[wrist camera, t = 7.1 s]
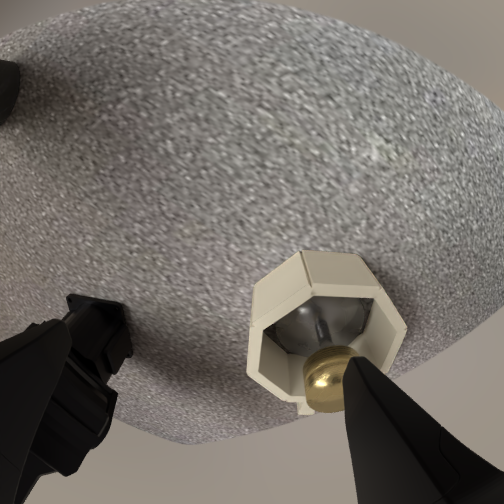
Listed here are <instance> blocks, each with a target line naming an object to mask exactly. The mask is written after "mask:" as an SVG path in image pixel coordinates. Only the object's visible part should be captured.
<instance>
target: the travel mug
mask: <svg viewBox="0 0 504 504" xmlns="http://www.w3.org/2000/svg"><path fill="white" fill-rule="evenodd" d="M19 83H20V73H19V69H18V66H17V65H16V64H15V63H13V62H10V61H5V60H0V125H1V124H2V123H3V122H4V121H5V120H6V119H7V117H8V116H9V114H10V112H11V110H12V108H13V106H14V104H15V101H16V98H17V94H18V90H19Z"/></svg>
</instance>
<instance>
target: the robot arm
mask: <svg viewBox="0 0 504 504" xmlns="http://www.w3.org/2000/svg"><path fill="white" fill-rule="evenodd" d="M66 300H67V304H68V307H69V310H70V311H69V312H68V313H67V314H66V315H65V316H64V317H63V319H62V320H60V319H56V318H55V319H52V320H49V321H47V322H46V321H44V322H43V323H42V324H40V325H39V324H35V323H32V324H31V325H30V326H29V327H28V328H27V329H26V330H25V331H24V332H22V333H20V334H17V335H15V336H13V337H11V338H8V339H6V340H4V341H2V342H0V504H23V503H24V502H25V500H26V498H27V497H28V495H29V494H30V492H31V490H32V489H33V487H34V485H35V484H36V482H37V481H38V479H39V478H40V477H41V476H43V475H47V474H51V473H54V472H59V473H60V474H62V475H63V476H65V477H67V476H69V475H71V474H73V473H75V472H77V470H78V469H79V467H80V465H81V463H82V461H83V460H84V458H85V456H86V454H87V453H88V452H89V450H90V449H94V448H96V447H97V446H98V445H99V444H100V443H101V442H102V441H103V439H104V438H105V437H106V435H107V433H108V431H109V429H110V426H111V422H112V417H113V413H114V409H115V405H116V401H117V397H118V393H117V392H116V391H115V390H114V389H111V388H110V387H109V386H108V385H106V384H107V382H108V381H109V379H110V377H111V375H112V374H113V375H116V374H117V373H118V371H119V369H120V367H121V365H122V364H123V362H124V360H125V358H131V357H132V355H133V351H132V343H131V339H130V335H129V331H128V327H127V325H126V322H125V317H124V312H123V308H122V305H121V304H119V303H117V302H112V301H106V300H100V299H95V298H89V297H84V296H79V295H74V294H69V295H68V296H67V297H66ZM116 307H117V308H118V309H117V308H116ZM342 385H343V397H344V410H345V424H346V431H347V436H348V442H349V448H350V453H351V459H352V466H353V472H354V478H355V485H356V492H357V499H358V504H504V472H503V471H501V470H499V469H497V468H496V467H495V466H493V465H492V464H490V463H489V462H487V461H486V460H485V459H483V458H482V457H480V456H479V455H477V454H476V453H474V452H473V451H472V450H470V449H469V448H468V447H466V446H465V445H464V444H462V443H461V442H460V441H459V440H458V439H456V438H455V437H454V436H453V435H452V434H450V433H449V432H448V431H447V430H446V429H445V428H444V427H441V425H440V424H439V423H438V422H437V421H436V420H435V419H434V418H432V417H431V416H430V415H429V414H428V413H427V412H426V411H425V410H424V409H423V408H421V407H420V406H419V405H418V404H417V403H416V402H415V401H413V399H411V398H410V397H409V396H408V395H407V394H406V393H405V392H404V391H403V390H401V389H400V388H399V387H398V386H397V385H396V384H395V383H394V382H393V381H391V380H390V379H389V378H388V377H387V376H386V375H385V374H384V373H383V372H381V371H380V370H379V369H378V368H377V367H376V366H375V365H374V364H373V363H371V362H370V361H369V360H368V359H367V358H366V357H364V356H353V357H351V358H350V360H349V362H348V364H347V367H346V370H345V372H344V375H343V379H342Z"/></svg>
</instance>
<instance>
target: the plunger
mask: <svg viewBox="0 0 504 504" xmlns="http://www.w3.org/2000/svg"><path fill="white" fill-rule="evenodd" d="M363 322H364V309H363V306H362V304H361V302H360V300H359V298H357V297H333V296H313V297H311V298H310V299H308V300H307V301H305V302H304V303H303V304H301V305H300V306H298V307H297V308H295V309H294V310H292V311H291V312H289V313H288V314H286V315H285V316H283V317H282V318H281V319H279V320H278V321H276V322H275V324H276V334H277V337H278V339H279V341H280V342H281V344H282V345H283V346H284V347H285V348H286V349H287V350H289V351H290V352H292V353H294V354H296V355H299V356H303V357H309V358H308V359H307V360H306V361H305V363H304V365H303V379H304V387H305V395H306V402H307V404H308V406H309V407H310V408H311V409H313V410H315V411H318V412H324V413H332V412H339V411H343V410H344V397H343V385H342V379H343V375H344V372H345V370H346V367H347V364H348V362H349V360H350V358H351V357H353V356H359V354H358V352H357V351H356V350H354V349H353V348H351V347H348V345H349V344H351V343H352V342H353V341H354V340H355V338H356V337H357V336H358V334H359V333H360V331H361V329H362V326H363Z"/></svg>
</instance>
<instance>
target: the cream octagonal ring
mask: <svg viewBox="0 0 504 504" xmlns="http://www.w3.org/2000/svg"><path fill="white" fill-rule="evenodd" d="M313 296H333V297H357V298H374V301H373V304H372V307H371V310H370V313H369V317H368V320H367V323H366V326H365V329H364V332H363V333H361V334H360V335H358V336H357V337H356V338H355V340H354V341H353V342H352V343H351V344H349V345H348V347H351V348H353V349H354V350H356V351H357V352H358V354H359V356H364V357H366V358H367V359H368V360H369V361H370V362H371V363H373V364H374V365H375V366H376V367H377V368H378V369H379V370H380V371H381V372H383V373H384V374H385V373H388V371H389V369H390V367H391V365H392V363H393V361H394V359H395V357H396V355H397V352H398V350H399V348H400V346H401V344H402V341H403V339H404V337H405V334H406V332H407V329H406V328H407V326H406V324H405V322H404V321H403V319H402V317H401V316H400V314H399V313H398V311H397V309H396V308H395V306H394V305H393V303H392V301H391V300H390V298H389V297H388V295H387V294H386V292H385V290H384V289H383V287H382V286H381V285H380V283H379V282H378V280H377V279H376V278H375V276H374V275H373V273H372V272H371V271H370V269H369V268H368V267H367V265H366V264H365V263H364V261H363V260H362V258H361V257H360V256H358V255H357V254H349V253H337V252H325V251H312V250H302V254H301V253H300V251H298V252H297V253H295V254H294V255H293V256H291V257H290V258H289V259H287V260H286V261H285V262H284V263H282V264H281V265H280V266H278V267H277V268H276V269H274V270H273V271H272V272H270V273H269V274H268V275H266V276H265V277H264V278H262V279H261V280H260V281H258V282H257V283H256V284H255V287H253V297H252V309H251V321H250V333H249V346H248V359H247V372H246V373H248V376H250V377H251V378H252V379H253V380H255V381H256V382H258V383H259V384H260V385H262V386H263V387H264V388H266V389H267V390H268V391H270V392H271V393H273V394H274V395H275V396H277V397H278V398H280V399H281V400H283V401H287V402H297V411H298V415H314V412H315V410H313V409H311V408H310V407H309V406H308V404H307V402H306V395H305V387H304V379H303V365H304V363H305V361H306V360H307V359H308V358H309V357H303V356H299V355H296V354H287V353H286V352H285V351H284V350H283V349H281V348H280V347H279V346H278V345H277V344H276V343H275V342H274V341H272V340H271V339H270V338H269V337H268V336H267V335H266V334H265V333H264V332H263V330H264V329H265V328H267V327H268V326H270V325H271V324H273V323H274V322H276V321H278V320H279V319H281V318H282V317H283V316H285V315H286V314H288V313H289V312H291V311H292V310H294V309H295V308H297V307H298V306H300V305H301V304H303V303H304V302H305V301H307V300H308V299H310V298H311V297H313ZM385 375H386V374H385Z"/></svg>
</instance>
